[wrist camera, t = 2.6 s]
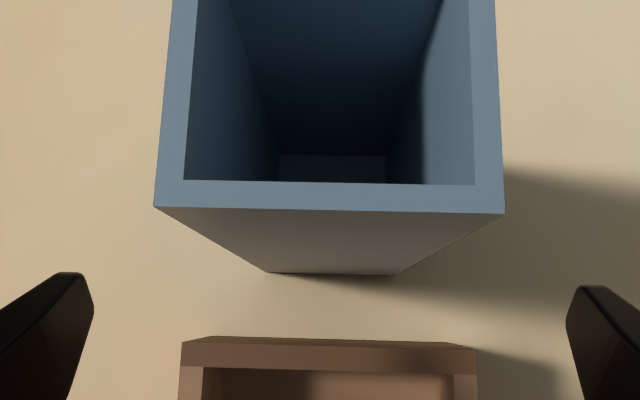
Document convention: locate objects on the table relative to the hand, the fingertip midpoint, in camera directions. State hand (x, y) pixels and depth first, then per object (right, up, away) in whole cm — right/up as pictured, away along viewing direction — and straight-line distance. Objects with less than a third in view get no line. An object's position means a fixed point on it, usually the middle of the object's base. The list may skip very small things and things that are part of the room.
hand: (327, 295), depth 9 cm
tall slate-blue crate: (0, +1, +11) cm, 11 cm away
